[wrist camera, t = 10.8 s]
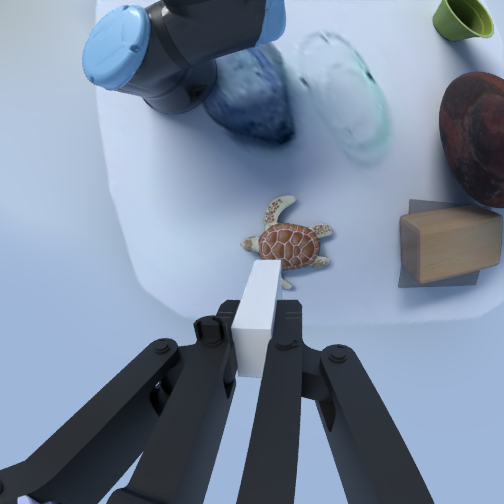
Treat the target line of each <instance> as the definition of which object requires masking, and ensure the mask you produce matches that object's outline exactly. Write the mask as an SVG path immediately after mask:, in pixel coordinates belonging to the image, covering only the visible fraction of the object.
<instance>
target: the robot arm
mask: <svg viewBox="0 0 504 504" xmlns="http://www.w3.org/2000/svg"><path fill="white" fill-rule="evenodd" d="M285 26H286V11H285V4H284V0H160V1H158V2H156V3H154V4H152V5H150V6H148V7H146V8H144V9H143V8H142V7H140V6H135V5H131V6H129V5H125V6H121V7H118V8H116V9H114V10H112V11H110V12H109V13H108V14H106V15H105V16H104V17H103V18H102V19H101V20H100V21H99V22H98V23H97V24H96V26H95V27H94V28H93V30H92V31H91V33H90V35H89V38H88V40H87V42H86V44H85V47H84V50H83V56H82V66H83V71H84V73H85V75H86V77H87V79H88V80H89V81H90V82H92V83H93V84H95V85H97V86H101V87H103V88H105V89H106V90H110V91H112V90H114V91H118V92H123V93H128V94H132V95H136V96H140V97H142V98H143V100H144V101H145V102H146V103H147V104H148V105H149V106H150V107H151V108H153V109H155V110H157V111H160V112H164V113H168V114H178V113H183V112H186V111H189V110H191V109H193V108H195V107H196V106H198V105H199V104H200V103H202V102H203V101H204V100H205V99H206V98H207V96H208V95H209V94H210V92H211V91H212V89H213V87H214V84H215V81H216V77H217V67H216V63H215V60H214V59H216V58H218V57H221V56H224V55H228V54H231V53H234V52H237V51H241V50H244V49H248V48H255V47H258V46H259V45H261V44H264V43H268V42H271V41H275V40H277V39H278V38H279V37H280V36H282V35H283V33H284V31H285ZM194 329H195V333H196V337H197V342H196V343H195V344H193V345H188V346H179V347H178V345H177V343H176V341H174V340H172V339H169V338H162V339H158V340H155V341H153V342H152V343H150V344H149V345H148V346H147V347H146V348H145V349H144V350H143V351H142V352H141V353H140V354H139V355H138V356H136V357H135V358H134V359H133V360H132V361H131V362H130V363H129V364H128V365H127V366H126V367H125V368H124V369H122V370H121V371H120V373H118V374H117V375H116V376H115V377H114V378H113V379H112V380H111V381H110V382H109V383H108V384H106V385H105V386H104V387H103V388H102V389H101V390H100V391H99V392H98V393H97V394H96V395H95V396H94V397H93V398H91V399H90V400H89V401H88V402H87V403H86V404H85V405H84V406H83V407H82V408H81V409H80V410H79V411H78V412H76V413H75V414H74V415H73V416H72V417H71V418H70V419H69V420H68V421H67V422H66V423H65V424H64V425H63V426H62V427H60V428H59V429H58V430H57V431H56V432H55V433H54V434H53V435H52V436H51V437H50V438H49V439H48V440H47V441H45V443H43V445H41V446H40V447H39V448H38V449H37V450H36V451H35V452H34V453H33V454H32V455H31V456H30V457H28V458H27V459H26V460H25V461H23V462H21V463H18V464H16V465H13V466H10V467H8V468H5V469H2V470H0V504H98V503H99V502H100V501H101V499H102V498H103V497H104V496H105V495H106V494H107V493H108V492H109V491H110V489H111V488H112V487H113V486H114V485H115V484H116V482H117V481H118V480H119V479H120V478H121V477H122V476H123V475H124V473H125V472H126V471H127V470H128V469H129V467H130V466H131V465H132V464H133V463H134V462H135V460H136V459H137V458H138V457H139V456H140V455H141V453H142V452H143V454H142V456H141V458H140V460H139V462H138V464H137V466H136V469H135V471H134V473H133V475H132V477H131V479H130V482H129V483H128V485H127V486H126V487H124V488H120V489H117V490H115V491H114V492H113V493H112V494H111V496H110V497H109V499H108V501H107V503H106V504H203V502H204V498H205V495H206V491H207V488H208V484H209V481H210V478H211V474H212V471H213V467H214V464H215V460H216V457H217V453H218V450H219V446H220V442H221V439H222V435H223V431H224V428H225V424H226V421H227V417H228V413H229V409H230V406H231V402H232V399H233V395H234V391H235V387H236V379H235V375H236V371H238V376H242V377H256V378H262V380H261V386H260V391H259V397H258V402H257V407H256V413H255V418H254V423H253V428H252V433H251V438H250V443H249V448H248V452H247V457H246V462H245V466H244V471H243V476H242V480H241V485H240V489H239V494H238V498H237V502H236V504H294V496H295V486H296V485H295V484H296V475H297V462H298V449H299V434H300V415H301V397H304V398H308V399H312V400H315V403H316V406H317V409H318V412H319V415H320V418H321V421H322V424H323V427H324V430H325V433H326V436H327V439H328V442H329V445H330V448H331V451H332V454H333V457H334V460H335V464H336V467H337V470H338V473H339V476H340V479H341V482H342V485H343V488H344V491H345V495H346V498H347V501H348V504H434V501H433V499H432V497H431V495H430V493H429V491H428V489H427V486H426V485H425V482H424V480H423V478H422V476H421V474H420V472H419V470H418V468H417V466H416V464H415V462H414V460H413V458H412V456H411V454H410V452H409V450H408V448H407V446H406V444H405V442H404V441H403V439H402V437H401V435H400V433H399V431H398V429H397V427H396V425H395V424H394V422H393V420H392V418H391V416H390V414H389V412H388V411H387V408H386V407H385V405H384V403H383V401H382V399H381V398H380V396H379V394H378V392H377V390H376V388H375V387H374V385H373V383H372V381H371V380H370V378H369V376H368V374H367V373H366V371H365V369H364V368H363V366H362V364H361V362H360V360H359V359H358V357H357V355H356V353H355V352H354V351H353V350H352V349H351V348H349V347H348V346H345V345H340V344H337V345H331V346H328V347H326V348H325V349H323V350H322V351H318V350H314V349H311V348H310V347H308V346H307V345H305V344H304V342H303V340H302V305H301V304H300V302H299V301H298V300H282V279H281V260H255V262H254V265H253V268H252V271H251V273H250V276H249V279H248V282H247V285H246V287H245V290H244V293H243V296H242V299H241V300H226V301H225V302H224V303H223V304H221V305H220V308H219V310H218V312H217V314H216V316H214V315H212V316H205V317H202V318H200V319H198V320H196V321H195V323H194ZM158 382H159V384H158V385H157V383H158ZM156 385H157V386H156Z"/></svg>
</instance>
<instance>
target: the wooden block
mask: <svg viewBox="0 0 504 504" xmlns="http://www.w3.org/2000/svg"><path fill="white" fill-rule="evenodd" d="M502 226H503V219H502V216H501V215H500V214H498V213H495V212H493V211H491V210H488V209H486V208H484V207H481V206H479V205H476V204H475V205H468V206H461V207H454V208H448V209H441V210H434V211H427V212H421V213H414V214H408V215H403V216H402V217H401V218H400V229H401V251H402V263H403V265H404V266H405V267H406V268H407V270H408V271H409V272H410V273H411V274H412V276H413V277H414V278H415V279H416V281H417V282H418V283H422V284H424V283H428V282H433V281H437V280H441V279H445V278H450V277H454V276H458V275H462V274H466V273H469V272H473V271H477V270H481V269H484V268H488V267H492V266H495V265H497V264H498V263H499V261H500V253H501V242H502Z"/></svg>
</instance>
